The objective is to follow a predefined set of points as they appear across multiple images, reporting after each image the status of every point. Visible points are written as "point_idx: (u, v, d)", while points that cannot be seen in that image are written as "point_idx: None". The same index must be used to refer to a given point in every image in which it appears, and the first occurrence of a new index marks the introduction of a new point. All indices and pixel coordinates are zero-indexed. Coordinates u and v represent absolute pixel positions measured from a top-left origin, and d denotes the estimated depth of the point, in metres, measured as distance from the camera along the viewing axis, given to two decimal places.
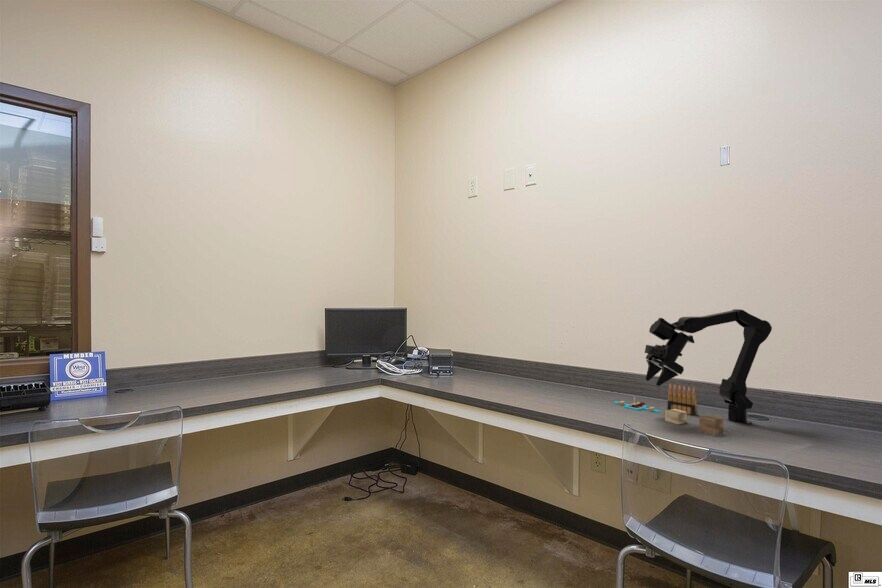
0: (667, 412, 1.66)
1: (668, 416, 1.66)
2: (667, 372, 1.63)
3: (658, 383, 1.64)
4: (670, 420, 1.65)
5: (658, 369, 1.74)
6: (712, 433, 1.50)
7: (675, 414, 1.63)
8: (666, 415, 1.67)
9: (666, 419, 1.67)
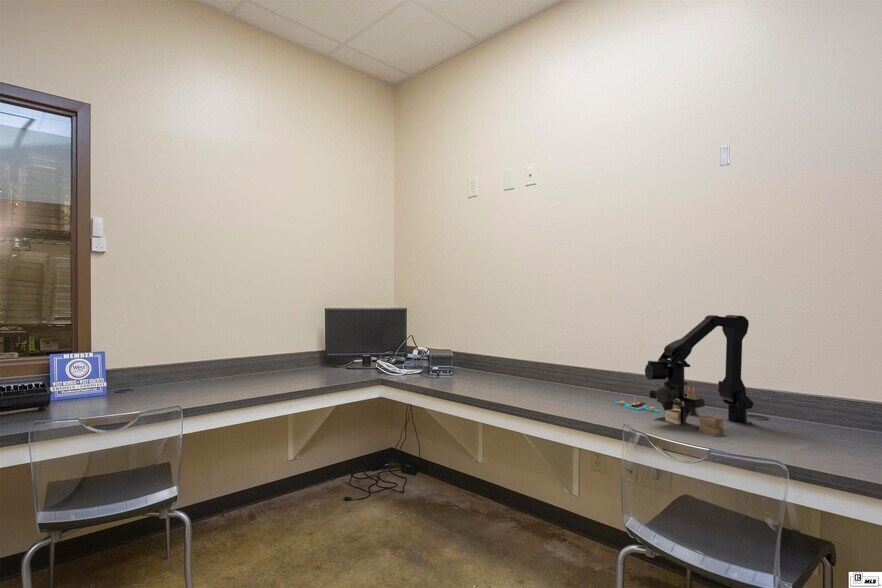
0: (667, 412, 1.66)
1: (668, 416, 1.66)
2: (685, 408, 1.63)
3: (683, 421, 1.63)
4: (670, 420, 1.65)
5: (671, 403, 1.69)
6: (712, 433, 1.50)
7: (675, 414, 1.63)
8: (666, 415, 1.67)
9: (666, 419, 1.67)
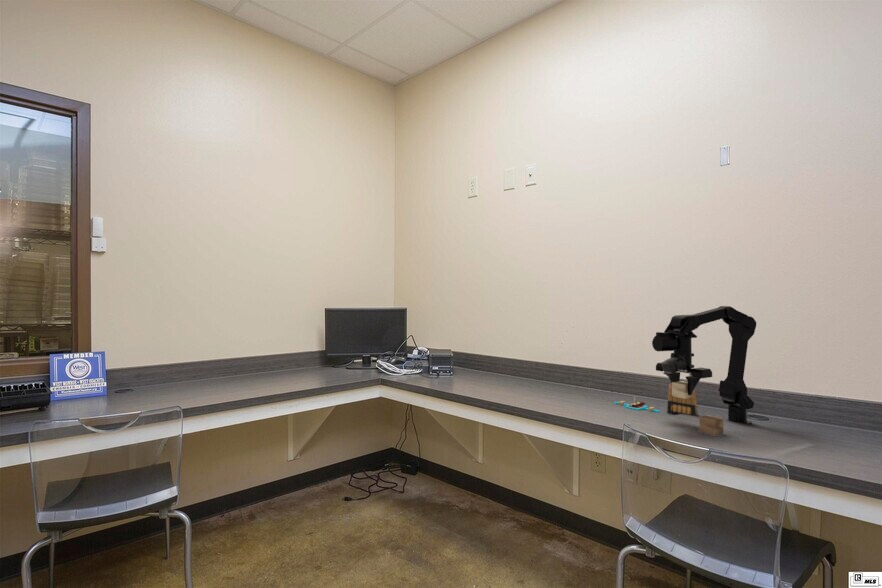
0: (674, 384, 1.63)
1: (675, 388, 1.63)
2: None
3: (690, 393, 1.60)
4: (677, 392, 1.62)
5: (678, 375, 1.67)
6: (712, 433, 1.50)
7: (682, 385, 1.60)
8: (673, 387, 1.64)
9: (673, 391, 1.64)
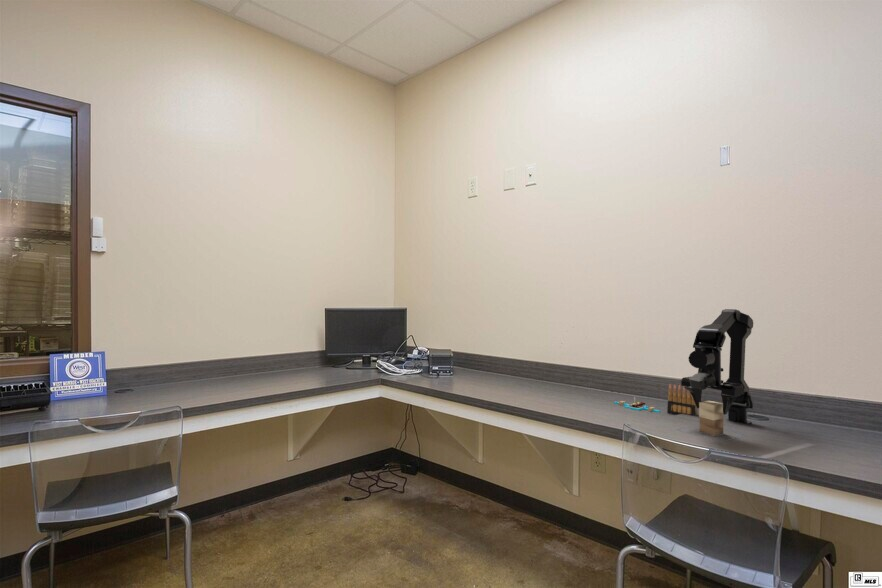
0: (702, 404, 1.53)
1: (703, 408, 1.53)
2: None
3: (725, 412, 1.48)
4: (705, 412, 1.52)
5: (700, 390, 1.58)
6: (712, 433, 1.50)
7: (711, 406, 1.50)
8: (700, 407, 1.53)
9: (700, 411, 1.54)
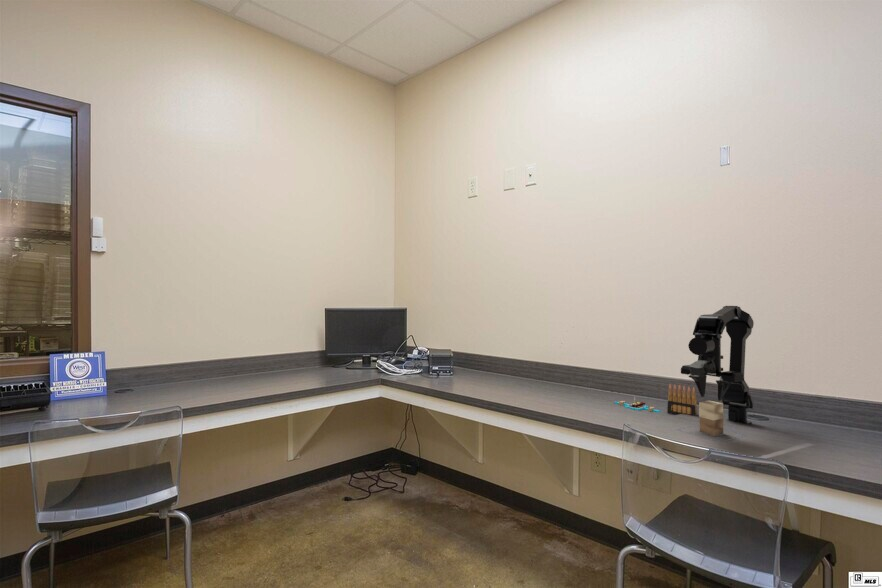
0: (702, 404, 1.53)
1: (703, 408, 1.53)
2: (723, 383, 1.49)
3: (720, 398, 1.50)
4: (705, 412, 1.52)
5: (704, 379, 1.57)
6: (712, 433, 1.50)
7: (711, 406, 1.50)
8: (700, 407, 1.53)
9: (700, 411, 1.54)
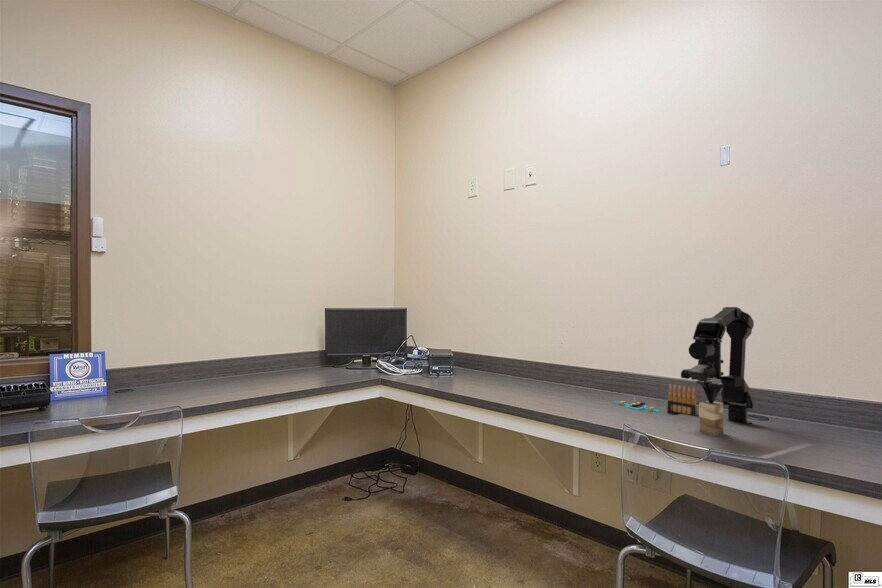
0: (702, 404, 1.53)
1: (703, 408, 1.53)
2: (715, 386, 1.52)
3: (712, 401, 1.52)
4: (705, 412, 1.52)
5: None
6: (712, 433, 1.50)
7: (711, 406, 1.50)
8: (700, 407, 1.53)
9: (700, 411, 1.54)
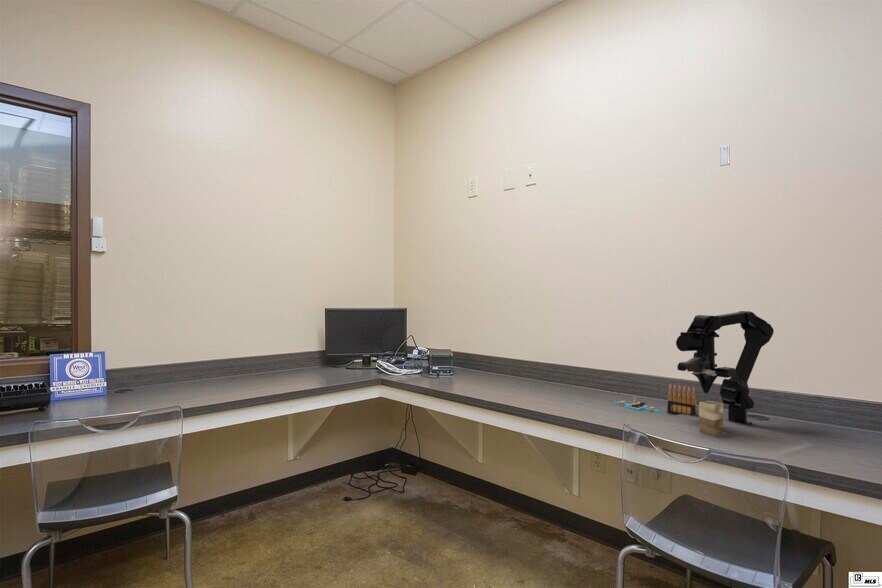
0: (702, 404, 1.53)
1: (703, 408, 1.53)
2: None
3: (707, 391, 1.63)
4: (705, 412, 1.52)
5: None
6: (712, 433, 1.50)
7: (711, 406, 1.50)
8: (700, 407, 1.53)
9: (700, 411, 1.54)
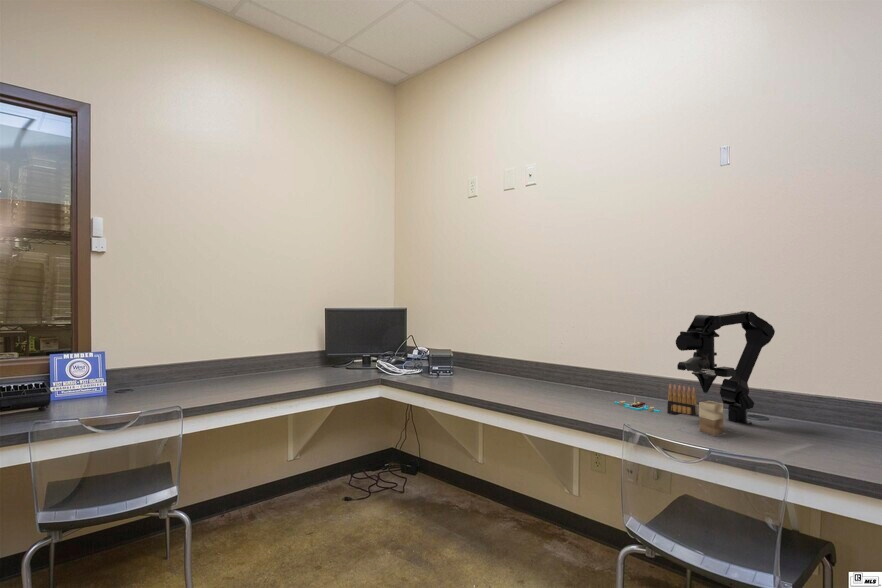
0: (702, 404, 1.53)
1: (703, 408, 1.53)
2: (709, 377, 1.63)
3: (706, 390, 1.63)
4: (705, 412, 1.52)
5: None
6: (712, 433, 1.50)
7: (711, 406, 1.50)
8: (700, 407, 1.53)
9: (700, 411, 1.54)
